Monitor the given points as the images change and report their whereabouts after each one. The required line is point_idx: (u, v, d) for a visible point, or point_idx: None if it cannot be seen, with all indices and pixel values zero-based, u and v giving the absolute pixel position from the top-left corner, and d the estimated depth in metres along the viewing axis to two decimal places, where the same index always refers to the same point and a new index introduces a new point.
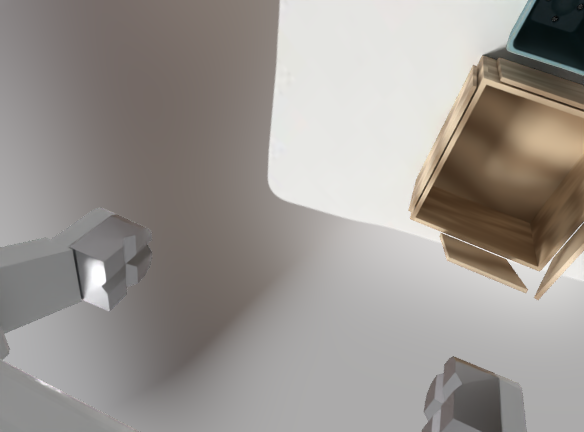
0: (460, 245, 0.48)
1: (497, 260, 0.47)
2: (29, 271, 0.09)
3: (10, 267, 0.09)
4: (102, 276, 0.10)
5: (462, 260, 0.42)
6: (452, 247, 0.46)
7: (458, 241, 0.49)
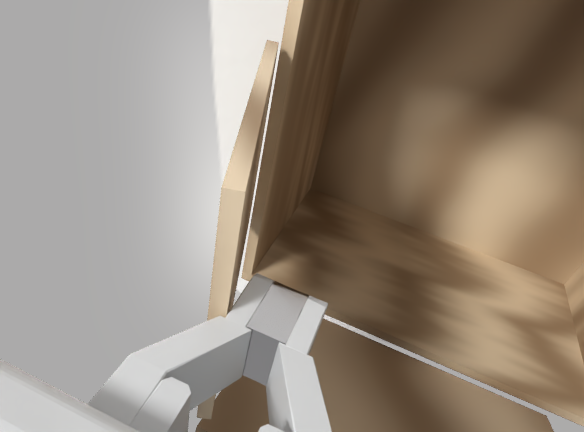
0: (263, 127, 0.14)
1: None
2: (213, 357, 0.08)
3: (200, 357, 0.08)
4: None
5: (241, 228, 0.09)
6: None
7: (267, 108, 0.15)
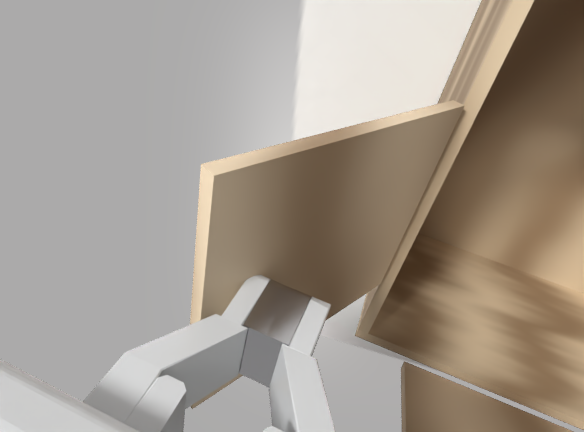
0: (398, 181, 0.12)
1: (358, 278, 0.15)
2: (209, 355, 0.08)
3: (196, 355, 0.08)
4: (274, 355, 0.09)
5: (243, 228, 0.08)
6: (360, 163, 0.10)
7: (425, 168, 0.13)
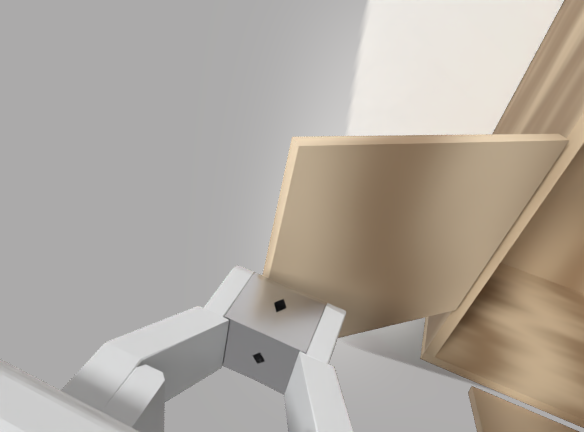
0: (482, 201, 0.13)
1: (429, 294, 0.15)
2: (190, 346, 0.08)
3: (176, 346, 0.08)
4: (256, 347, 0.09)
5: (317, 200, 0.10)
6: (438, 171, 0.11)
7: (516, 197, 0.13)
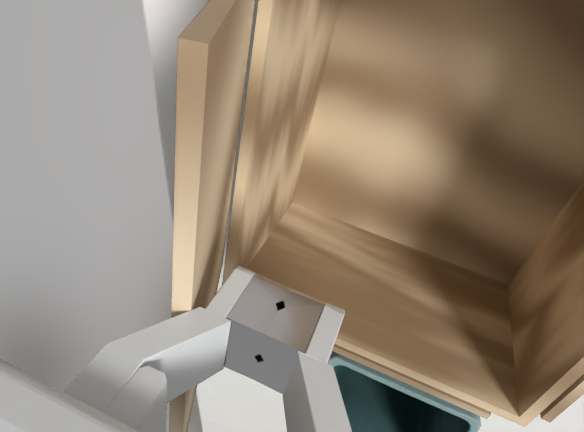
0: None
1: None
2: (192, 347, 0.08)
3: (178, 346, 0.08)
4: (259, 347, 0.09)
5: None
6: None
7: None
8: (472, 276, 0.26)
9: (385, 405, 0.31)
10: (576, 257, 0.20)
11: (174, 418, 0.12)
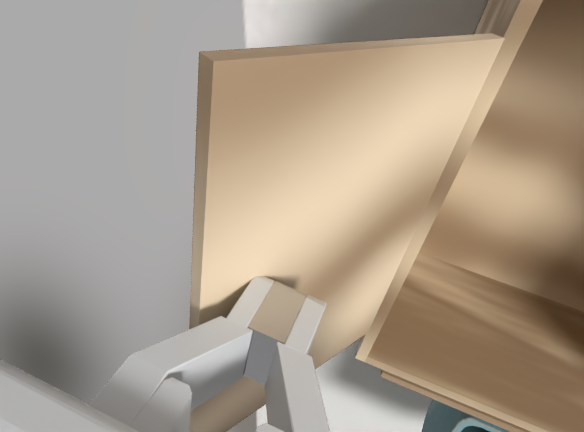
0: None
1: None
2: (214, 358, 0.08)
3: (201, 357, 0.08)
4: None
5: None
6: None
7: None
8: None
9: None
10: None
11: None
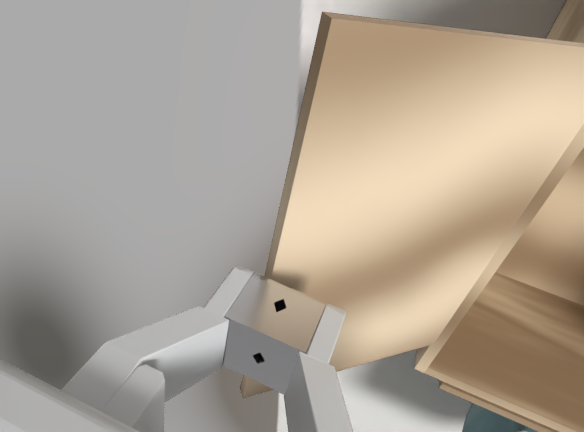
0: None
1: None
2: (190, 346, 0.08)
3: (176, 345, 0.08)
4: (256, 347, 0.09)
5: None
6: None
7: None
8: None
9: None
10: None
11: None
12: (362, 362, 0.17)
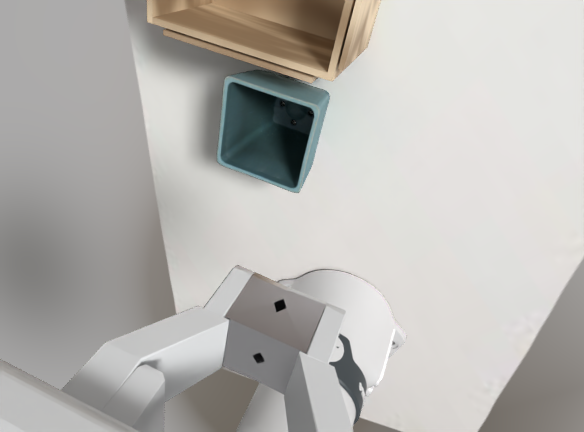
0: None
1: None
2: (190, 346, 0.08)
3: (176, 345, 0.08)
4: (256, 347, 0.09)
5: None
6: None
7: None
8: (332, 41, 0.38)
9: (281, 158, 0.42)
10: None
11: None
12: None
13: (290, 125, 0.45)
